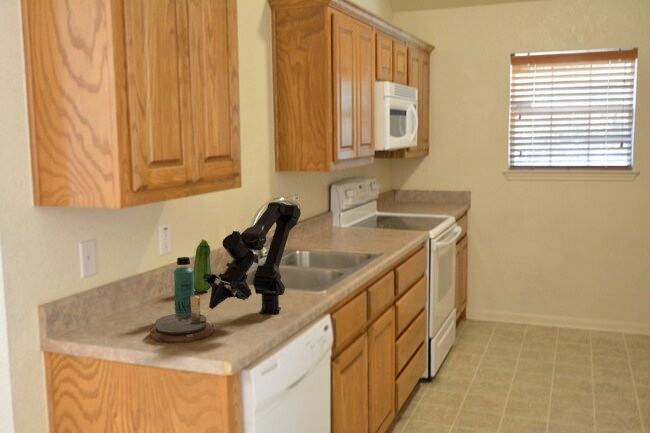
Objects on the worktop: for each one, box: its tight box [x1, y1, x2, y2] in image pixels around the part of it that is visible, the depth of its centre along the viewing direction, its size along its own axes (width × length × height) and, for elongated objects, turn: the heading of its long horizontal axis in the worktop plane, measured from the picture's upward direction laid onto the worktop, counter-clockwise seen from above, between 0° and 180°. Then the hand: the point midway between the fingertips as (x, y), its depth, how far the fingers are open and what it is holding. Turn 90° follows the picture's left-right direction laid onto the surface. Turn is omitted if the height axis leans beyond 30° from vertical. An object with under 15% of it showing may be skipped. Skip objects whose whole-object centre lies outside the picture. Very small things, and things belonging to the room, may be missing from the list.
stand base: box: [150, 322, 213, 344], centre depth 203 cm, size 18×18×2 cm
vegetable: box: [193, 238, 212, 293], centre depth 253 cm, size 7×7×20 cm
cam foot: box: [154, 294, 208, 335], centre depth 202 cm, size 15×15×10 cm
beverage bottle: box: [173, 256, 196, 314], centre depth 218 cm, size 6×7×20 cm
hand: (210, 308), depth 202 cm, fingers closed
